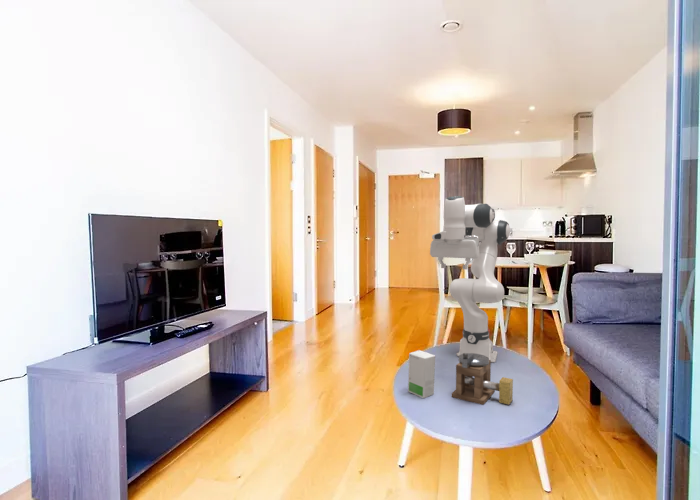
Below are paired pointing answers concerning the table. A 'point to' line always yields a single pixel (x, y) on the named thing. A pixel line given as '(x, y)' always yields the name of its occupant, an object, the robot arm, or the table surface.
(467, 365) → the handwheel
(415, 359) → the skincare box
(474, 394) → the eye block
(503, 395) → the gold cube on rod
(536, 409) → the table surface
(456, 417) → the table surface
